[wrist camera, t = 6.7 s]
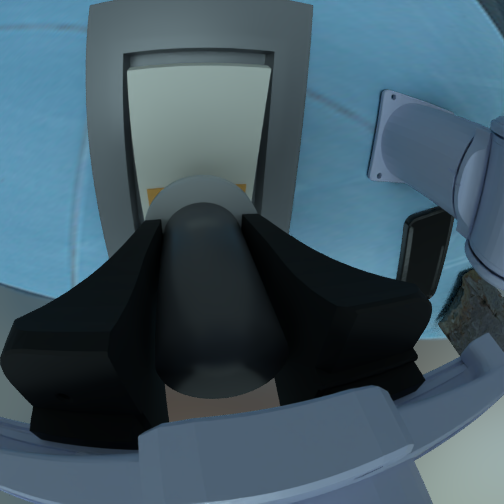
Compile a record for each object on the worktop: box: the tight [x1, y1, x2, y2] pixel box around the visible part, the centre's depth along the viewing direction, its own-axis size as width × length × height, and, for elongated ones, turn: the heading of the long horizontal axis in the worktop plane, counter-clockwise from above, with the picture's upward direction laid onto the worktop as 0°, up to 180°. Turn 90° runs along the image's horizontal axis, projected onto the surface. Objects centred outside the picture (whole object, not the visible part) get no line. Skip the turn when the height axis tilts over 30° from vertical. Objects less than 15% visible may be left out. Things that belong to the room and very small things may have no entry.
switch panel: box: [86, 0, 313, 259], centre depth 17 cm, size 14×20×4 cm
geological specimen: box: [438, 269, 504, 356], centre depth 32 cm, size 11×6×15 cm, turn 0°
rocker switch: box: [127, 63, 271, 221], centre depth 15 cm, size 7×10×1 cm
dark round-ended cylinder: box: [145, 175, 289, 399], centre depth 10 cm, size 5×5×9 cm
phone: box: [396, 206, 454, 299], centre depth 31 cm, size 8×1×15 cm
